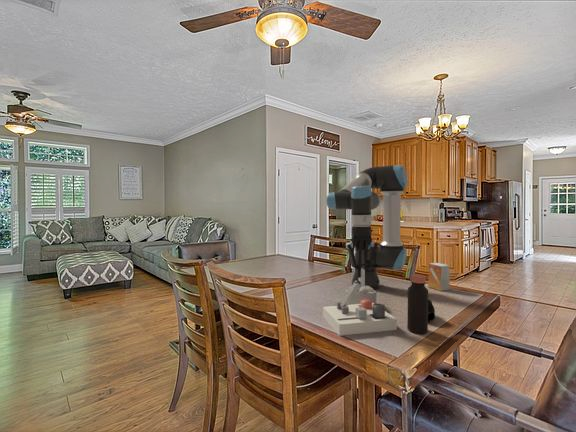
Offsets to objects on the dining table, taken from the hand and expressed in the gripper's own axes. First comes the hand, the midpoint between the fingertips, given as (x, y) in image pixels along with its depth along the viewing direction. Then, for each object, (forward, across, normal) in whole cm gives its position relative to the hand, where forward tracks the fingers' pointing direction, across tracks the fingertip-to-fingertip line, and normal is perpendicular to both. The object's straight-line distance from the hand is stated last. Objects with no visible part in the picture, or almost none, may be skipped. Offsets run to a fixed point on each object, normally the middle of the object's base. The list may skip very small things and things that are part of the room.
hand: (361, 285), depth 120 cm
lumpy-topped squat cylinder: (+14, +6, +15) cm, 21 cm away
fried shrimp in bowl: (+14, +25, -1) cm, 29 cm away
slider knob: (+9, -4, -8) cm, 13 cm away
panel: (+14, -3, -3) cm, 14 cm away
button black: (+11, +3, -8) cm, 14 cm away
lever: (+8, -8, 0) cm, 11 cm away
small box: (+14, +58, +30) cm, 67 cm away
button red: (+13, +3, +2) cm, 13 cm away
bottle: (+14, +15, -14) cm, 25 cm away
